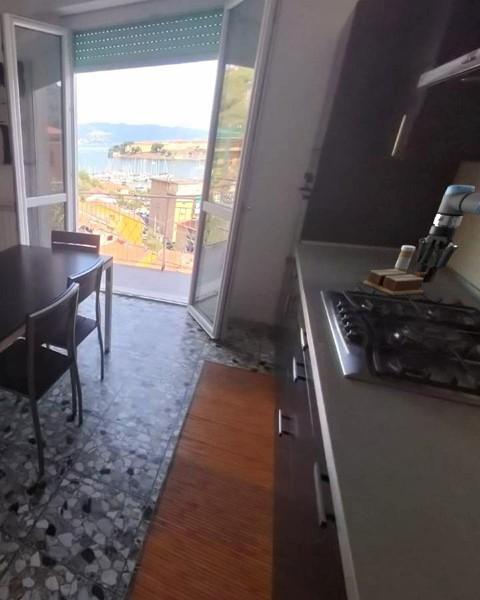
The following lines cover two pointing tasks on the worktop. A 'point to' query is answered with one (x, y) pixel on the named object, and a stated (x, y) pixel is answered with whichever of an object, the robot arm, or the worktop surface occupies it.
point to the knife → (422, 275)
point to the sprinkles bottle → (404, 257)
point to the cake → (394, 282)
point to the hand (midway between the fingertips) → (422, 280)
